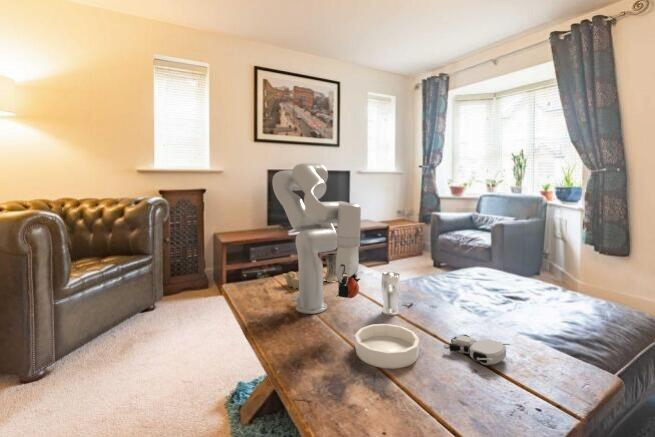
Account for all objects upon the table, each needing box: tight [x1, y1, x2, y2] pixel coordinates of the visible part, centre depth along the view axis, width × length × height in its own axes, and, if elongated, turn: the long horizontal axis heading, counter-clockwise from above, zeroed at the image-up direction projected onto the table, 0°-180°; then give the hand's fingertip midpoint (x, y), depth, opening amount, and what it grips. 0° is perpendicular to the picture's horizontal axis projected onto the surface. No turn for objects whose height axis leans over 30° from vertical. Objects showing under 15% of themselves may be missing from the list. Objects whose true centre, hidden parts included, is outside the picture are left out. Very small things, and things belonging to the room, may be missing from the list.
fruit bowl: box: [354, 323, 420, 370], centre depth 97 cm, size 18×18×4 cm
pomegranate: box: [335, 277, 361, 299], centre depth 110 cm, size 7×7×10 cm
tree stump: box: [323, 253, 338, 283], centre depth 169 cm, size 10×10×13 cm
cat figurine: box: [282, 271, 299, 290], centre depth 159 cm, size 8×7×12 cm
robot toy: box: [443, 334, 511, 366], centre depth 94 cm, size 12×4×15 cm
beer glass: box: [381, 271, 401, 316], centre depth 126 cm, size 7×7×15 cm
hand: (347, 292), depth 110 cm, fingers closed on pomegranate, 7 cm apart
